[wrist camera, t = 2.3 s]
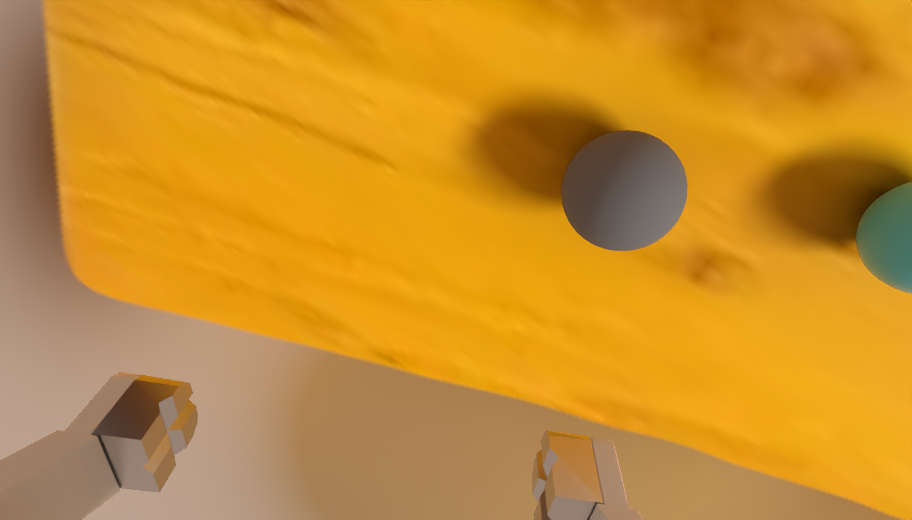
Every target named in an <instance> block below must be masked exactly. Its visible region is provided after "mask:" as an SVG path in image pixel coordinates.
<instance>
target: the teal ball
mask: <svg viewBox="0 0 912 520" xmlns="http://www.w3.org/2000/svg"><path fill="white" fill-rule="evenodd" d="M856 244H857V249H858V253H859V256H860V258H861V260H862V261H863V263H864V265H865V266H866V267H867V269H868V270H869V271H870V272H871V273H872V274H873V275H874V276H875V277H877V278H878V279H879V280H881V281H882V282H884V283H885V284H887V285H889V286H891V287H893V288H895V289H898V290H901V291H904V292H907V293H912V182H909V183H906V184H903V185H900V186H898V187H895V188H893V189H892V190H890V191H888V192H886V193H884V194H883V195H881V196H880V197H879V198H877V199H876V200H875V201H874V202H873V203H872V204H871V205H870V206H869V207H868V209H867V210H866V211H865V213H864V214H863V216H862V218H861V220H860V222H859V225H858V228H857V233H856Z"/></svg>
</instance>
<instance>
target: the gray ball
mask: <svg viewBox="0 0 912 520" xmlns="http://www.w3.org/2000/svg"><path fill="white" fill-rule="evenodd" d="M561 194H562V204H563V208H564V211H565V214H566V216H567V219H568V221H569V222H570V224H571V225H572V227H573V228H574V229H575V230H576V232H577V233H578V234H579V235H581V236H582V237H583V238H584V239H585V240H587V241H588V242H590V243H592V244H594V245H596V246H598V247H601V248H604V249H608V250H614V251H628V250H635V249H639V248H643V247H646V246H648V245H650V244H652V243H654V242H656V241H657V240H659V239H660V238H662V237H663V236H664V235H665V234H666V233H668V232H669V231H670V230H671V229H672V227H673V226H674V225H675V224H676V222H677V221H678V219H679V217H680V215H681V213H682V211H683V209H684V206H685V202H686V197H687V179H686V175H685V171H684V168H683V166H682V163H681V161H680V160H679V158H678V156H677V155H676V154H675V152H674V151H673V150H672V149H671V148H670V147H669V146H668V145H667V144H665V143H664V142H663V141H662V140H660V139H658V138H656V137H654V136H652V135H649V134H647V133H643V132H639V131H629V130H626V131H615V132H611V133H607V134H604V135H602V136H599V137H597V138H595V139H594V140H592V141H590V142H589V143H587V144H586V145H585V146H584V147H583V148H581V149H580V150H579V151H578V153H577V154H576V155H575V156H574V158H573V159H572V161H571V162H570V164H569V165H568V167H567V169H566V172H565V175H564V178H563V183H562V192H561Z"/></svg>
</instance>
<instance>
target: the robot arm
mask: <svg viewBox="0 0 912 520" xmlns="http://www.w3.org/2000/svg"><path fill="white" fill-rule="evenodd" d="M192 393H193V392H192V389H191V385H190V383H187V382H181V381H174V380H169V379H163V378H157V377H151V376H145V375H138V374H131V373H124V372H119V373H117V374H116V375H114V376H112V377H111V378H110V379H109V381H108V382H107V383H106V384H105V385H104V386H103V387H102V389H101V390H100V391H99V392H98V393H97V394H96V396H95V397H94V398H93V399H92V400H91V401H90V402H89V404H88V405H87V406H86V407H85V408H84V409H83V411H82V412H81V413H80V414H79V415H78V416H77V418H76V419H75V420H74V421H73V422H72V423H71V425H70V426H69V427H68V428H67V429H66V430H65V431H59V430H58V431H56V432H54V433H52V434H50V435H48V436H46V437H45V438H43V439H41V440H38V441H37V442H35V443H33V444H31V445H29V446H27V447H25V448H23V449H21V450H19V451H17V452H16V453H14V454H12V455H10V456H8V457H6V458H4V459H2V460H0V520H82V519H83V518H85V517H86V516H87V515H89V514H90V513H91V512H93V511H94V510H95V509H97V508H98V507H99V506H101V505H102V504H103V503H104V502H106V501H107V500H108V499H110V498H111V497H112V496H114V495H115V494H116V493H117V492H119V491H120V488H124V489H132V490H142V491H152V492H160V491H161V489H162V488H163V486H164V484H165V483H166V481H167V479H168V477H169V476H170V474H171V473H172V471H173V469H174V468H175V466H176V462H175V456H174V455H175V454H177V453H179V452H180V451H182V450H183V449H185V448H186V447H187V446H188V444H189V442H190V441H191V439H192V437H193V435H194V431H195V428H196V425H197V418H198V413H197V409H196V406H195V405H194V404H193V403H192V402H191V401H190V400H189V398H190V397H191V395H192ZM541 448H542V450H541V451H539V452H537V454H536V457H535V460H534V465H533V472H532V491H533V496H534V497H535V498H536V500H537V501H538V504H537V506H536V509H535V512H534V520H644V518H643V517H642V516H641V515H640V513H639V512H638V511H637V510H636V509H633V508H629V506H628V502H627V497H626V493H625V489H624V485H623V481H622V476H621V472H620V468H619V463H618V459H617V455H616V450H615V446H614V443H613V442H612V440H610V439H603V438H596V437H588V436H585V435H577V434H568V433H560V432H551V431H545V432H544V434H543V436H542V439H541Z"/></svg>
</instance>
